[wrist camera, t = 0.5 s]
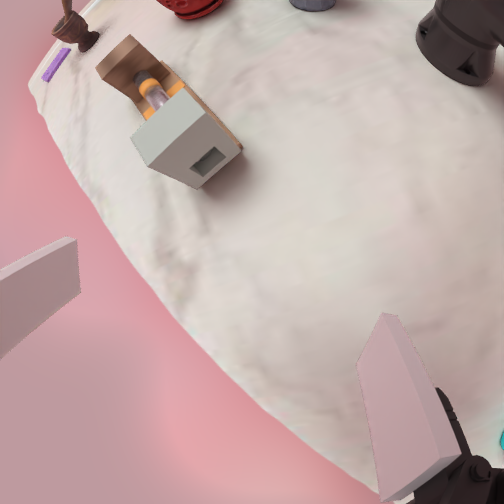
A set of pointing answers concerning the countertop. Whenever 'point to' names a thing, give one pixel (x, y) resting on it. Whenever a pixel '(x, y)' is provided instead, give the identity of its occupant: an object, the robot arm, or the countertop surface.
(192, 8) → the plant pot
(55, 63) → the sponges
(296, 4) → the moka pot
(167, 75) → the pipe rig
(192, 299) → the countertop surface
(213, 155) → the sleeve
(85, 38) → the mortar and pestle
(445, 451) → the robot arm
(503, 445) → the donuts
